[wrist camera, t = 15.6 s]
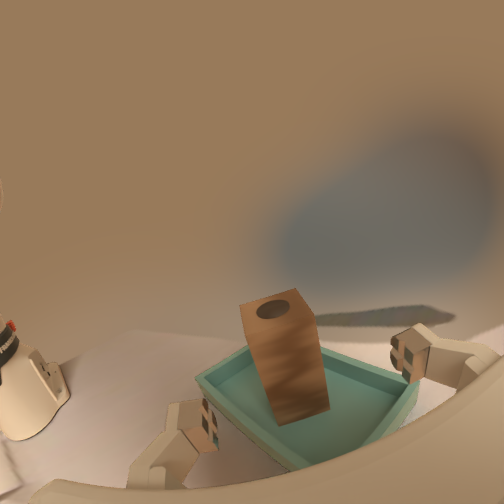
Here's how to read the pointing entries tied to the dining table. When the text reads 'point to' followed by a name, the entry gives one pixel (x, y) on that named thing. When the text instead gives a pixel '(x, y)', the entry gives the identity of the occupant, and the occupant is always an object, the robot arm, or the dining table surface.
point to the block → (287, 355)
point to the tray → (318, 426)
